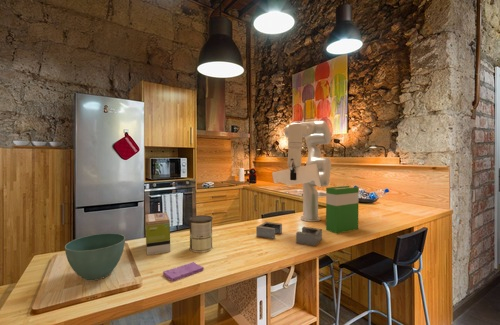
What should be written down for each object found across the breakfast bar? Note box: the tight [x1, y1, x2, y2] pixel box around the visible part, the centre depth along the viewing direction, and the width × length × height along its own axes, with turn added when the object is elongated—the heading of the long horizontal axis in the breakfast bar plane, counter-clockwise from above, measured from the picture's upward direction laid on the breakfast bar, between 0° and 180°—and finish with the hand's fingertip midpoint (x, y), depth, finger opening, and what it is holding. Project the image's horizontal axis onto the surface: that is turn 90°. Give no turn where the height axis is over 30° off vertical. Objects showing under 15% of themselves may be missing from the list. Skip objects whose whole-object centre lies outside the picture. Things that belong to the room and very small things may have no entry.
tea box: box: [144, 212, 171, 256], centre depth 117 cm, size 15×10×15 cm, turn 23°
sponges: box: [162, 261, 205, 283], centre depth 93 cm, size 7×13×2 cm, turn 134°
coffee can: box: [189, 214, 213, 254], centre depth 117 cm, size 10×10×14 cm
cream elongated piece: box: [271, 164, 322, 188], centre depth 140 cm, size 6×25×13 cm, turn 62°
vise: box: [255, 221, 323, 247], centre depth 132 cm, size 12×31×5 cm, turn 62°
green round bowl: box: [64, 232, 126, 281], centre depth 91 cm, size 18×18×12 cm
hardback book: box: [325, 185, 360, 235], centre depth 146 cm, size 18×7×24 cm, turn 119°
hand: (295, 179), depth 140 cm, fingers closed on cream elongated piece, 5 cm apart
